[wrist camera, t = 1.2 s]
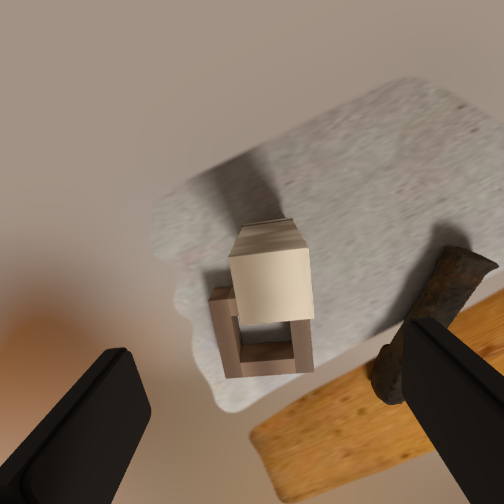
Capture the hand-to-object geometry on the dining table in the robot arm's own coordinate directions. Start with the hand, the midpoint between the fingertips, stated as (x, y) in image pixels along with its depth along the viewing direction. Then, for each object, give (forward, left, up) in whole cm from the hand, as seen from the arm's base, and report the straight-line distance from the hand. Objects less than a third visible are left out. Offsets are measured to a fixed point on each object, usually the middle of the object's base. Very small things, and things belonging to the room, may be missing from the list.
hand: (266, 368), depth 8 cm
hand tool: (-15, +12, -19) cm, 27 cm away
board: (+2, +10, -18) cm, 21 cm away
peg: (0, 0, -18) cm, 18 cm away
